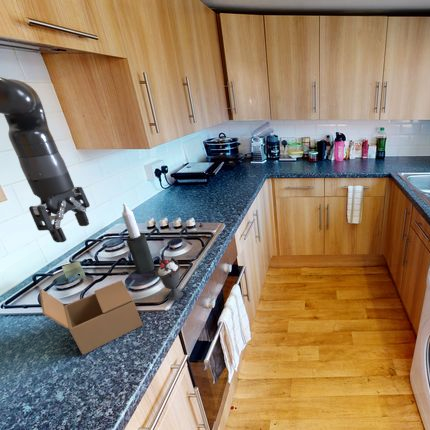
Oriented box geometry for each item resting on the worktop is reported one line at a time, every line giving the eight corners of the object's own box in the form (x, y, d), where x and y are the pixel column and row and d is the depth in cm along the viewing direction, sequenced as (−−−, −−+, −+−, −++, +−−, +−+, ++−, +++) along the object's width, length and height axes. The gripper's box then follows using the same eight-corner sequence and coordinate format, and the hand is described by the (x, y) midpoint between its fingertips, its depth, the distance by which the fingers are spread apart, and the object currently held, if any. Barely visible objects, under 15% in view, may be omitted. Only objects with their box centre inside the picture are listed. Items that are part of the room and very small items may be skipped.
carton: (83, 356, 68) (67, 327, 64) (76, 330, 76) (62, 303, 72) (143, 325, 77) (132, 299, 73) (131, 305, 84) (121, 279, 80)
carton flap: (68, 327, 65) (66, 328, 64) (63, 303, 72) (61, 304, 71) (44, 312, 61) (42, 313, 60) (41, 288, 68) (39, 289, 67)
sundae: (166, 307, 83) (152, 264, 76) (161, 295, 88) (148, 253, 81) (190, 298, 86) (178, 256, 80) (184, 286, 91) (173, 246, 85)
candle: (154, 270, 99) (133, 204, 88) (137, 275, 97) (113, 208, 86) (154, 263, 103) (133, 199, 92) (138, 267, 101) (115, 202, 90)
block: (69, 283, 93) (63, 272, 91) (67, 277, 96) (61, 266, 94) (86, 277, 96) (81, 266, 94) (83, 271, 99) (78, 260, 97)
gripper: (53, 165, 73) (77, 221, 80) (1, 183, 60) (35, 248, 67) (84, 164, 74) (105, 220, 81) (39, 182, 61) (69, 247, 68)
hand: (73, 233), depth 74 cm, fingers open, 8 cm apart
